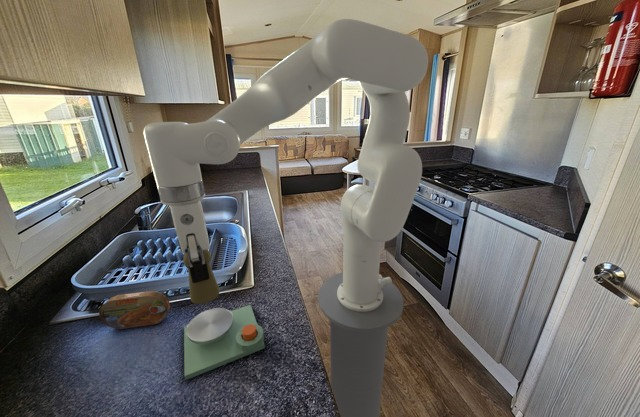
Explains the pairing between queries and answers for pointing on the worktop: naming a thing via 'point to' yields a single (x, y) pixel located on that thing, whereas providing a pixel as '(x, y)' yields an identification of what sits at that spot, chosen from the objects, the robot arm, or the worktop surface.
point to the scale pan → (210, 326)
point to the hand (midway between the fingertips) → (200, 272)
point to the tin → (134, 310)
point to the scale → (222, 345)
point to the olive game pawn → (202, 283)
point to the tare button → (249, 332)
